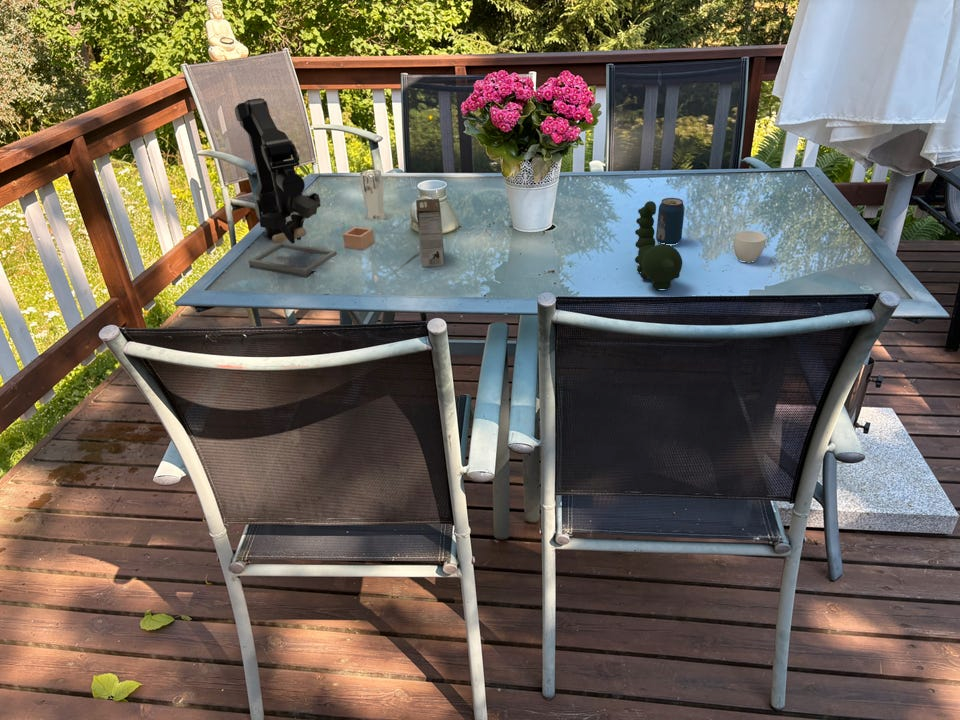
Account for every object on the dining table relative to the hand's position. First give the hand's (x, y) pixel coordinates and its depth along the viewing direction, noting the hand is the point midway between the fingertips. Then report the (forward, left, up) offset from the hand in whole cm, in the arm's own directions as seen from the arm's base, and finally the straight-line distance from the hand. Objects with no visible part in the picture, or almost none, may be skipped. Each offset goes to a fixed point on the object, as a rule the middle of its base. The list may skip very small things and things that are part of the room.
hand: (295, 241), depth 194 cm
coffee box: (+24, +29, -7) cm, 38 cm away
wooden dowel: (-6, -3, -2) cm, 7 cm away
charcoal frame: (-2, -1, -7) cm, 7 cm away
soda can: (+60, +85, -7) cm, 104 cm away
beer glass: (-16, +34, -7) cm, 38 cm away
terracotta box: (+2, +18, -7) cm, 19 cm away
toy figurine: (+73, +64, -7) cm, 97 cm away
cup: (+81, +91, -7) cm, 122 cm away
